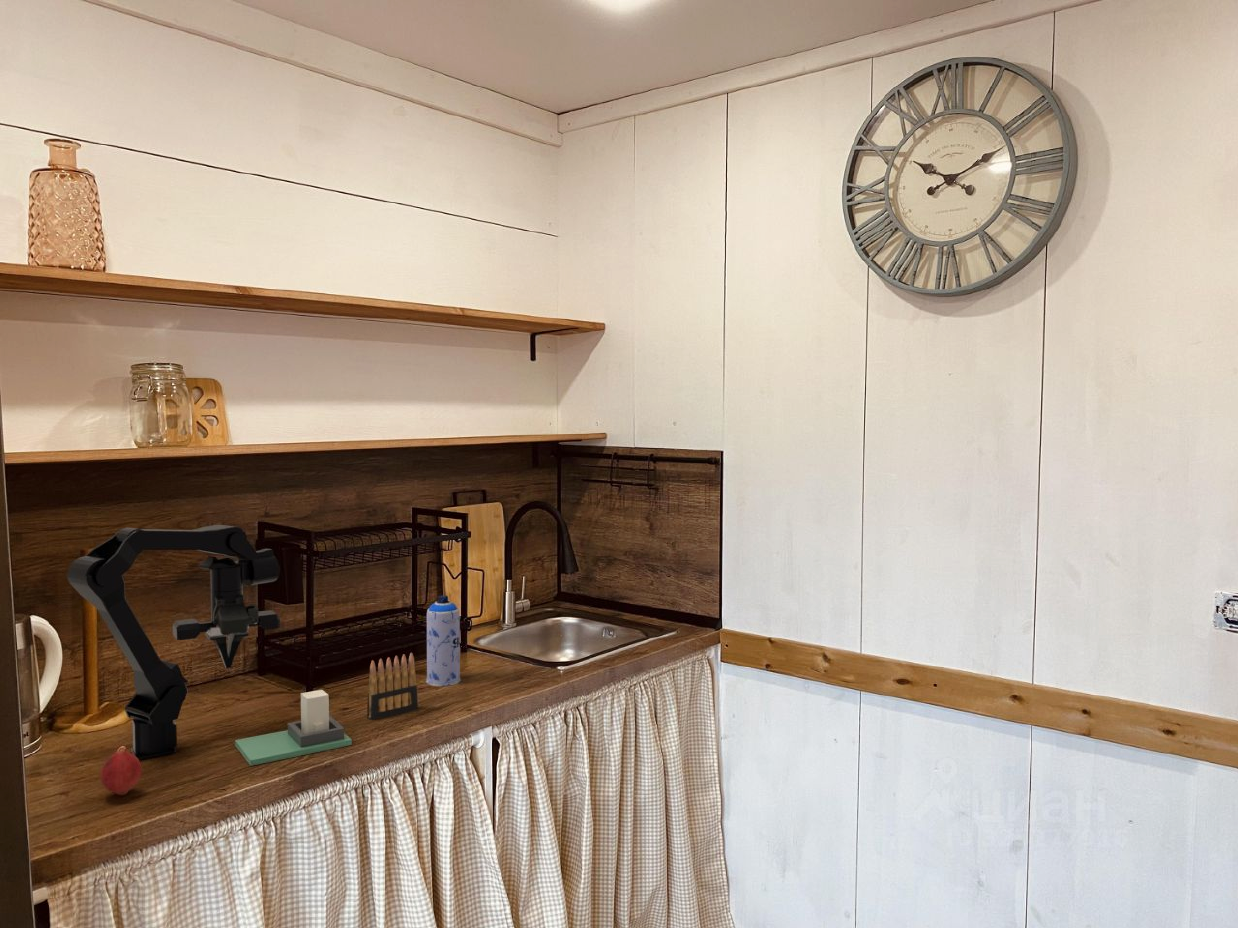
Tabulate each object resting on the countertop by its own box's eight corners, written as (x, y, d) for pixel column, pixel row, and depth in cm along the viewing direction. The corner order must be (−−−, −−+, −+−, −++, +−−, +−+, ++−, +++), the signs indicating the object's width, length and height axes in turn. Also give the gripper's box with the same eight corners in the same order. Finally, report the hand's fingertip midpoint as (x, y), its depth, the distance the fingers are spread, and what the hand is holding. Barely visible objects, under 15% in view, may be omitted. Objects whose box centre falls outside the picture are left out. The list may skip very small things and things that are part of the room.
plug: (308, 742, 166) (308, 699, 166) (297, 730, 172) (296, 689, 172) (330, 737, 169) (329, 696, 168) (318, 726, 175) (317, 686, 174)
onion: (103, 805, 141) (102, 756, 141) (99, 793, 146) (98, 745, 145) (144, 796, 145) (143, 748, 144) (139, 784, 149) (138, 737, 149)
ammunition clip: (413, 706, 190) (413, 650, 190) (418, 708, 189) (417, 652, 188) (366, 717, 183) (366, 659, 182) (371, 720, 182) (370, 661, 181)
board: (250, 765, 158) (250, 749, 157) (235, 745, 167) (234, 729, 167) (351, 744, 168) (351, 729, 168) (331, 726, 178) (331, 711, 178)
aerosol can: (454, 686, 204) (454, 600, 203) (421, 685, 205) (421, 599, 204) (464, 677, 212) (464, 593, 211) (432, 675, 213) (432, 592, 212)
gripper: (180, 601, 163) (182, 685, 164) (286, 591, 174) (287, 670, 175) (171, 591, 173) (173, 671, 173) (272, 582, 183) (273, 657, 184)
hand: (228, 667), depth 176 cm, fingers closed
